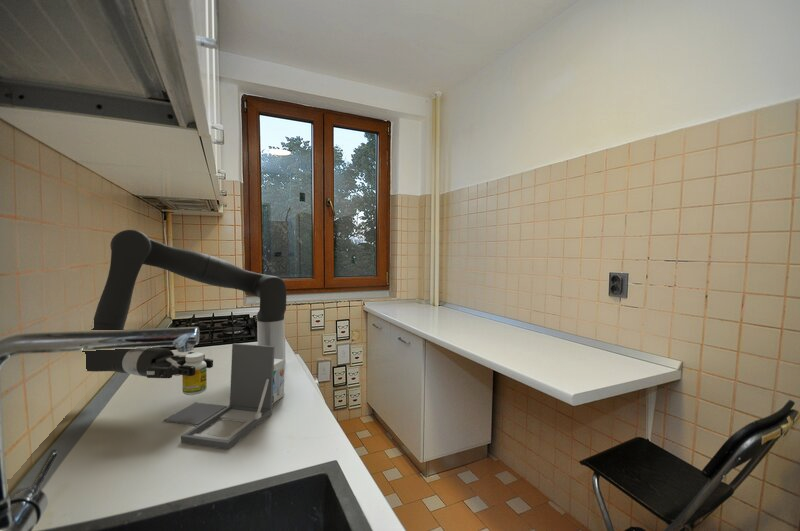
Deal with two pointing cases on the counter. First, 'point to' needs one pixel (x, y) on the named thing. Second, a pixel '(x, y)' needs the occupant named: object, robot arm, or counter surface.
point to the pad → (195, 413)
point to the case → (242, 396)
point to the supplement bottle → (197, 381)
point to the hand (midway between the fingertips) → (203, 367)
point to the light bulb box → (278, 380)
